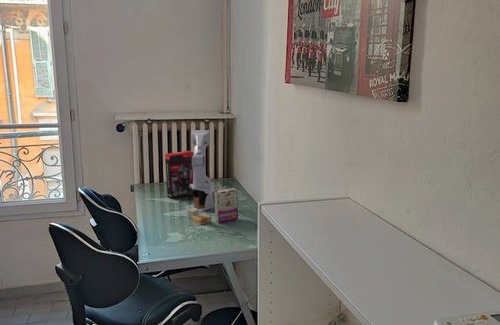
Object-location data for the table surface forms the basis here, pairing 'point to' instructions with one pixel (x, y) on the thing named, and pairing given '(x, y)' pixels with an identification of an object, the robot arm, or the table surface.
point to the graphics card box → (179, 174)
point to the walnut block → (197, 203)
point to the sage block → (192, 212)
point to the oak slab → (201, 219)
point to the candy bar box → (226, 205)
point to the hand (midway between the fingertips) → (199, 204)
